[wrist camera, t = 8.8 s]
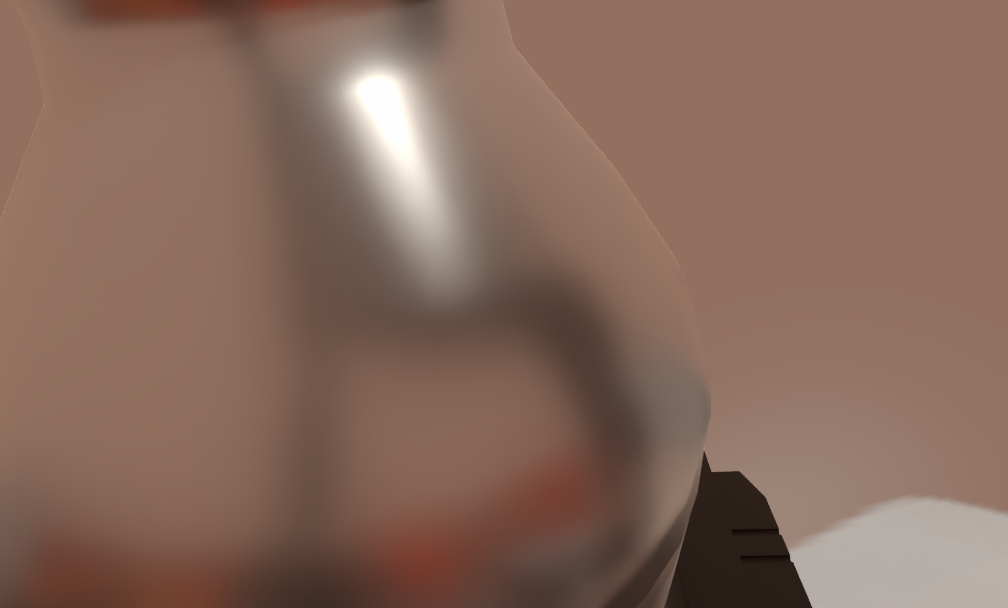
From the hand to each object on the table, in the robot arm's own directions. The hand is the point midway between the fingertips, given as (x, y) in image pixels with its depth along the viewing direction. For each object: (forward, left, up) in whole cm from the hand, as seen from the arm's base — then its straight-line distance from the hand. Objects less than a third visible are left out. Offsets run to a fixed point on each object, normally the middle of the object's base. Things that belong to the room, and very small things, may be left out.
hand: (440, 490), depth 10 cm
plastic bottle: (0, +2, -11) cm, 11 cm away
